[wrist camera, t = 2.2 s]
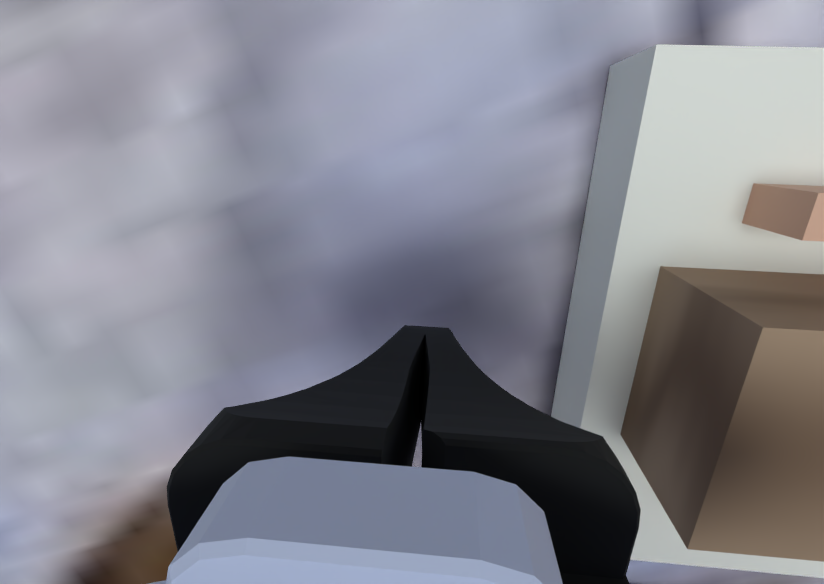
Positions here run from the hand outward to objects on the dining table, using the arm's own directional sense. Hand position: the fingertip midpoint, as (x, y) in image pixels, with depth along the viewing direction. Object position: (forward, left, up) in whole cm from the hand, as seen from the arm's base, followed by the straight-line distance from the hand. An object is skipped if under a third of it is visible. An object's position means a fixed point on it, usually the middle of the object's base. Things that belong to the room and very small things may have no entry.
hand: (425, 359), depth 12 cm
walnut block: (0, -9, -1) cm, 9 cm away
